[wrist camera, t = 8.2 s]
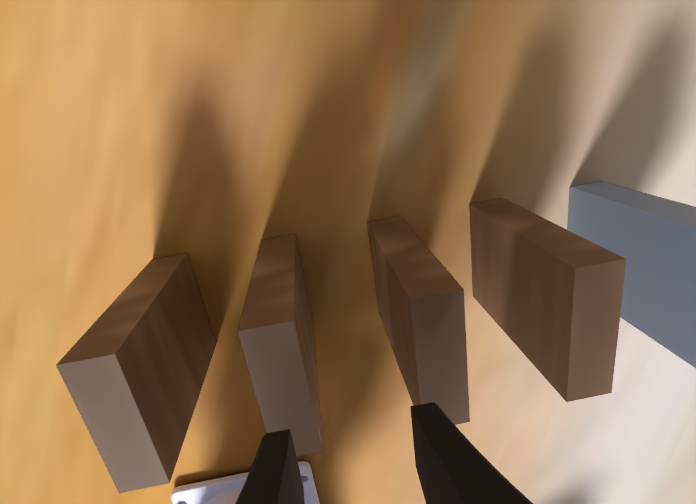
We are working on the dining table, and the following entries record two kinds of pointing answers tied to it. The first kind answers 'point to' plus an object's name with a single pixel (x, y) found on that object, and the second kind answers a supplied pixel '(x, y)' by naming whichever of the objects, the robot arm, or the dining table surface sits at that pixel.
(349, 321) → the dining table surface
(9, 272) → the dining table surface
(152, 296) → the domino
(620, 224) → the domino
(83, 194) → the dining table surface
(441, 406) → the domino
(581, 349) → the domino
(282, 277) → the domino
